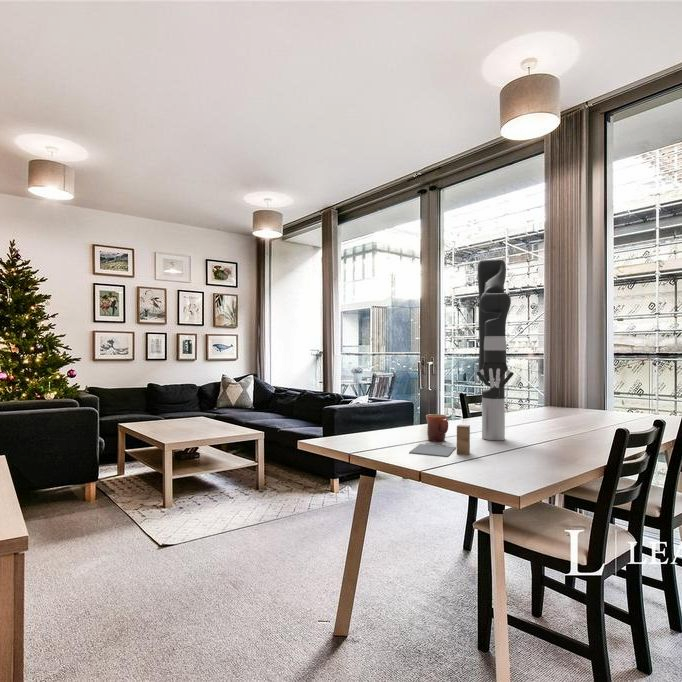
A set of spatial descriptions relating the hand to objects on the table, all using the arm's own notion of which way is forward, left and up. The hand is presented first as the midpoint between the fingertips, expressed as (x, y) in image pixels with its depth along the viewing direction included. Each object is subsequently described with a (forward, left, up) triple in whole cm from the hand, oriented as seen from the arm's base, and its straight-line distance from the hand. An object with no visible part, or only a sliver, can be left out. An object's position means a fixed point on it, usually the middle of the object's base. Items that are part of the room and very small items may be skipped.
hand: (495, 398), depth 165 cm
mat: (0, -22, -20) cm, 30 cm away
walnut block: (0, -11, -20) cm, 23 cm away
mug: (-19, -24, -21) cm, 37 cm away
